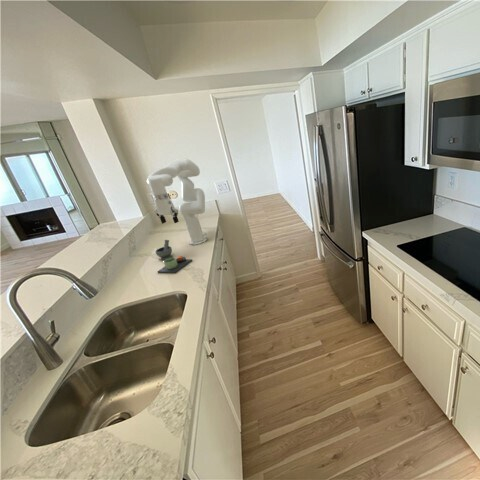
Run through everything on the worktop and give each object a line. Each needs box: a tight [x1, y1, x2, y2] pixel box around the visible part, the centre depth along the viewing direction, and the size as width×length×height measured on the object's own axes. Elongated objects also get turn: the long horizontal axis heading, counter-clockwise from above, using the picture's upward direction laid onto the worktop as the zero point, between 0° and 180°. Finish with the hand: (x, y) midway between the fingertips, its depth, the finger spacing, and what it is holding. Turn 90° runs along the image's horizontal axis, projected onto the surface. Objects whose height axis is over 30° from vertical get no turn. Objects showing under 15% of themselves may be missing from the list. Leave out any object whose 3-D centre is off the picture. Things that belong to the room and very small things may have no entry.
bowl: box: [163, 257, 178, 269], centre depth 167 cm, size 7×7×5 cm
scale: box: [157, 256, 193, 274], centre depth 170 cm, size 16×13×3 cm
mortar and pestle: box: [155, 239, 173, 261], centre depth 184 cm, size 11×9×12 cm
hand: (170, 222), depth 172 cm, fingers open, 9 cm apart
